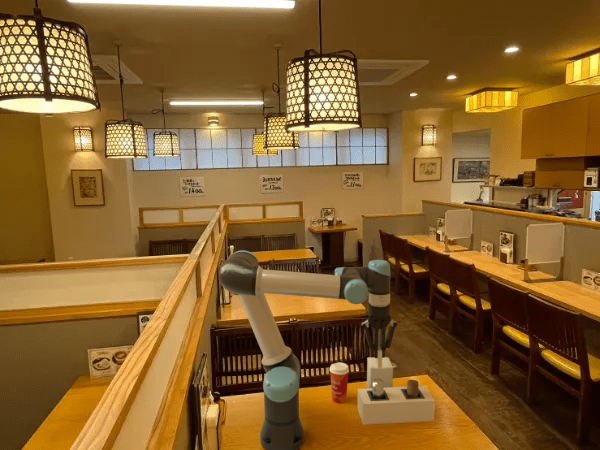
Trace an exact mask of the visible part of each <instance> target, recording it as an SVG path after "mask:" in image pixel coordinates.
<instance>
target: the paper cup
mask: <svg viewBox="0 0 600 450" xmlns="http://www.w3.org/2000/svg"><path fill="white" fill-rule="evenodd" d="M329 372H330V386H331V399H332V402H334V403H335V404H344V403H346V401H347V398H348V397H347V395H348V384H349V383H348V380H349V379H348V378H349V372H350V369H349V366H348V364H347V363H345V362H339V361H338V362H335V363H331V365H330V367H329Z"/></svg>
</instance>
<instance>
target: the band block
mask: <svg viewBox="0 0 600 450" xmlns="http://www.w3.org/2000/svg"><path fill="white" fill-rule="evenodd" d="M435 406H436V400H435V398H434V396H432V394H431V393H430V391H429V389H428V388H427V386H426V385H418V397H415V398H408V397H407V386H393V387H388V388H384V390H383V399H374V400H373V399H372V388H367V387H366V388H357V411H358V413H359V414H358V415H359V416H360V420H361V422H362V426H364V425H383V424H385V425H386V424H387V425H388V424H401V423H421V422H435V410H436V409H435Z"/></svg>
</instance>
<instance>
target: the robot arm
mask: <svg viewBox="0 0 600 450" xmlns="http://www.w3.org/2000/svg"><path fill="white" fill-rule="evenodd" d="M218 280H219V283H220V285H221V286H222V287H223V288H224V289H225V291H228V292H229V293H231V294H233V296H235V297H237V298H239V300H240V302H241V305H242V307H243V309H244V312H245V314H246V317H247V319H248V321H249V324H250V327H251V329H252V331H253V334H254V336H255V339H256V341H257V344H258V346H259V348H260V350H261V352H262V355H263V357H262V359H261V364H262V366H263V369H264V371H265V375H264V377H263V383H262V387H263V396H264V397H263V402H264V403H263V405H264V419H263V424H262V426H261V430H260V434H259V436H260V437H259V438H260V439H259V441H260V442H259V443H260V445H261V447H262V449H265V450H299V449H300V448H301V447H302V446H303V445H304V443H305V441H306V440H305V439H306V437H305V435H306V434H305V429H304V426H303V423H302V421H301V418H300V377H301V376H300V375H301V365H300V361H299V359H298V357H297V356H296V355H295V354H294V353H293V350H292V348H290V347H289V346H287V345H285V342H284V339H283V336H282V335H281V332H280V330H279V327H278V325H277V323H276V320H275V318H274V315H273V312H272V310H271V308H270V304H269V303H268V300H267V297H266V295H265V294H270V295H271V294H272V295H285V296H296V297H306V298H307V297H308V298H321V299H332V300H333V299H334V300H346V301H348V302H349V303H350V304H352V305H361V304H363V303H364V302H365V301H366V300H367V298H368V316H367V318H366V320H365V321H362V322H361V326H362V327H363V329H364V333H365V338H366V341H367V344H368V347H369V349H371V350H373V357H374V358H376V365H377V367H378V368H382V358H384V357H386V350H387V349H390V348H391V345H392V341H393V337H394V333H395V329H396V328H397V326H398V322H397V321H396V320H395V319H392V317H391V264H390V263H389V261H388V260H384V259H373V260H370V261H369V262H368V265H367V266H342V267H341V266H340V267H336V268H335V269H334V274H327V273H326V274H325V273H324V274H323V273H312V272H300V271H288V270H276V269H275V270H274V269H264V268H262V266H260V263H259V259H258V258H257V256H256V255H255V254H254V253H252V252H250V251H249V250H238V251H237V250H236V252H235V251H234V253H231V254H230V255H228V257H227V259H226V260H225V261H224V262H223V263H222V264H221V265H220V269H219V271H218ZM369 325H370V326H371V327H372V330H373V331H372V334H373V337H372V336H371V334H370V329H369V327H370V326H369ZM388 326H389V327H388ZM387 327H388V330H386V329H387ZM386 331H387V335H386ZM379 334H380V335H379ZM379 337H380V338H379ZM379 339H380V340H379ZM379 341H380V342H379ZM379 343H380V344H379Z"/></svg>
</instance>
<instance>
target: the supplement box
mask: <svg viewBox="0 0 600 450" xmlns="http://www.w3.org/2000/svg"><path fill="white" fill-rule="evenodd" d="M366 359H367V360H366V361H367V362H366V363H367V365H366V366H367V367H366V368H367V369H366V370H367V371H366V372H367V373H366V389H367V388H372V384H373V380H374V379H381V380H383V381H384V388H388V387H394V385H393V382H394V380H393V379H394V367H393V365H392V362H391V360H390V358H389V357H386V356H385V357H384V358H382V368H378V367H377V365H376V358H375V357H374V356H373V357H369V356H368V357H367V358H366Z"/></svg>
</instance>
